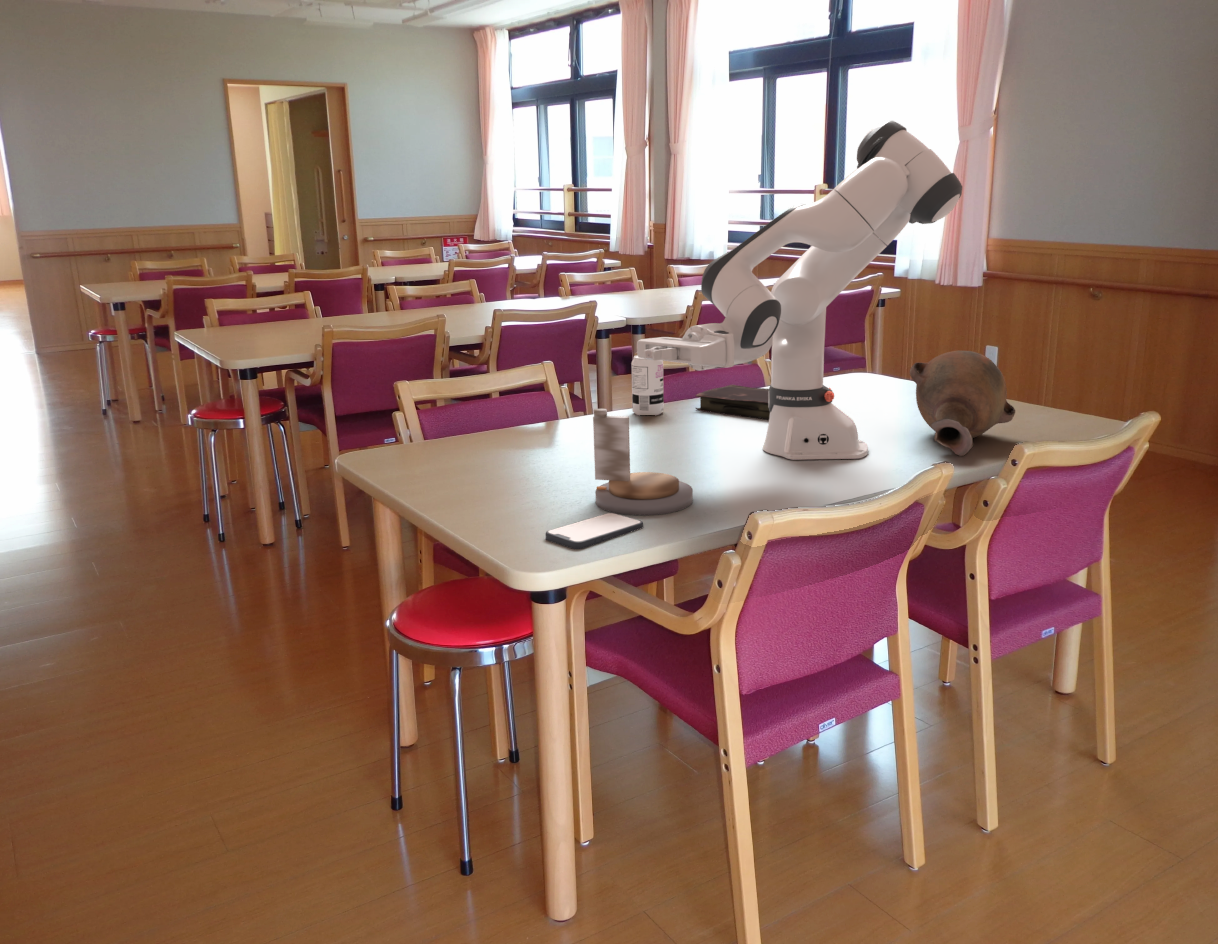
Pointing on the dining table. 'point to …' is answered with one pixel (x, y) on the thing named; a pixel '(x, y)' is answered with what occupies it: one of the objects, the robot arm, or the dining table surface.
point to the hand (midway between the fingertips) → (648, 355)
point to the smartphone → (593, 530)
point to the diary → (736, 401)
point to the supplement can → (647, 386)
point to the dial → (624, 462)
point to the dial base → (644, 502)
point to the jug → (961, 397)
